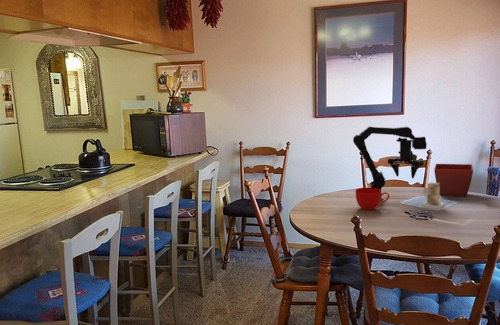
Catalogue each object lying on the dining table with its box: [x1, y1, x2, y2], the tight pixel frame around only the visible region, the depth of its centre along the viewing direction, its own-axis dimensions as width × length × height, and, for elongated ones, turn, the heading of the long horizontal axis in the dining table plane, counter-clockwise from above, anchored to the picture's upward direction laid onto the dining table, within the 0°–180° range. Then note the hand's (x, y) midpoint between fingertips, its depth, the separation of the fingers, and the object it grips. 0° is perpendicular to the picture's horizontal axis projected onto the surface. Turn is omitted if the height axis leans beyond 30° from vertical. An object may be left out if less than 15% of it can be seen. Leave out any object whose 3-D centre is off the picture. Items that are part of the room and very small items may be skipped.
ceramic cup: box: [355, 187, 390, 211], centre depth 204 cm, size 13×17×10 cm
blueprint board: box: [399, 195, 460, 212], centre depth 208 cm, size 22×22×1 cm
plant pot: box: [434, 163, 474, 198], centre depth 224 cm, size 19×19×17 cm
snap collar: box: [422, 202, 444, 209], centre depth 201 cm, size 8×8×2 cm
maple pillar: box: [426, 181, 440, 206], centre depth 200 cm, size 4×4×12 cm
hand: (405, 177), depth 217 cm, fingers open, 9 cm apart
